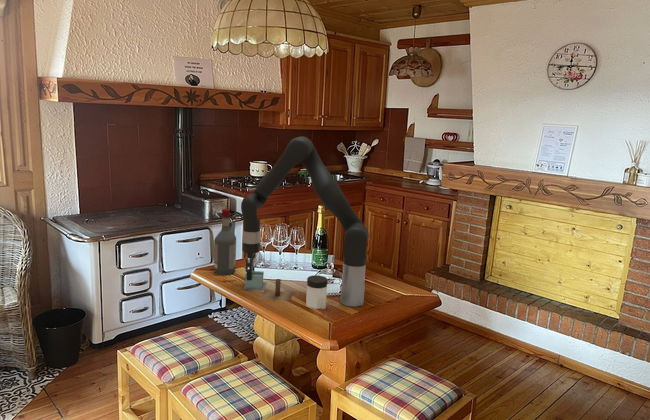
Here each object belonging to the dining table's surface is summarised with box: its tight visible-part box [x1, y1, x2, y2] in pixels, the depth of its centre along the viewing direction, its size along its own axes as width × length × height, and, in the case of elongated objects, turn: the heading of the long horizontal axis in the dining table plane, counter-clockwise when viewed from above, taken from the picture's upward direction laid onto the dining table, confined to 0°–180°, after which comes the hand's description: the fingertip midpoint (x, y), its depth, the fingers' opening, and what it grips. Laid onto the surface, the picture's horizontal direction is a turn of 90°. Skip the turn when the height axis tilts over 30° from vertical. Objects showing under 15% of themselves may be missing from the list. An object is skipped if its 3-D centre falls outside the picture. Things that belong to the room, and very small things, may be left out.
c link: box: [244, 270, 265, 288], centre depth 213 cm, size 7×6×6 cm
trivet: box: [243, 281, 267, 291], centre depth 214 cm, size 9×9×1 cm
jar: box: [305, 274, 328, 310], centre depth 197 cm, size 9×8×12 cm
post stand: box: [261, 278, 293, 302], centre depth 204 cm, size 12×9×8 cm
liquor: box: [213, 208, 237, 276], centre depth 228 cm, size 9×9×30 cm
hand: (250, 276), depth 213 cm, fingers open, 8 cm apart
